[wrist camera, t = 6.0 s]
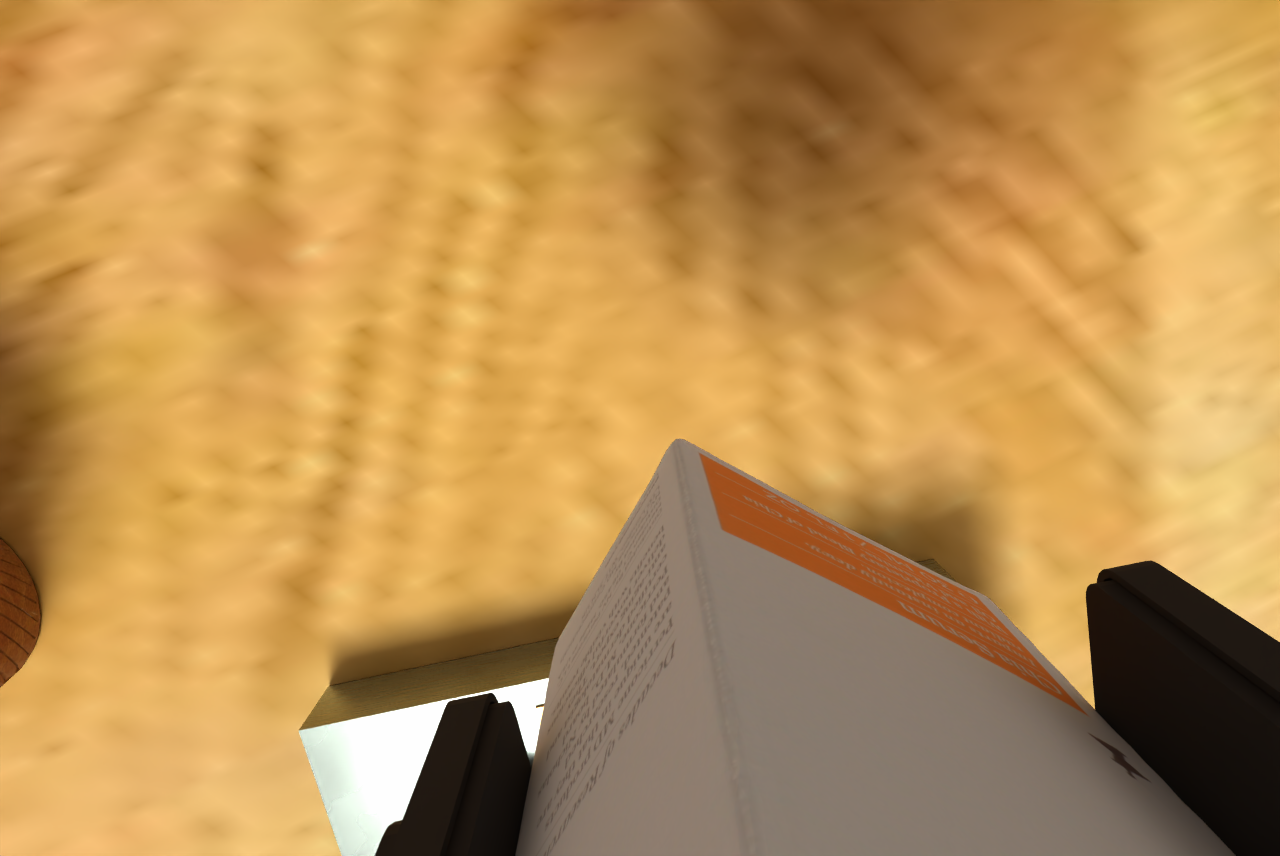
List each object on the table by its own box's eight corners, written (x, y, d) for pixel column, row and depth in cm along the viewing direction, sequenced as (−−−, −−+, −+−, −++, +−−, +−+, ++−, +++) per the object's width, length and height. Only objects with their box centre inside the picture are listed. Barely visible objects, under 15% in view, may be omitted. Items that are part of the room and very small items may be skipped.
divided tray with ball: (933, 558, 26) (1015, 639, 20) (975, 848, 28) (1059, 989, 23) (328, 686, 26) (253, 797, 21) (419, 960, 29) (373, 1124, 23)
